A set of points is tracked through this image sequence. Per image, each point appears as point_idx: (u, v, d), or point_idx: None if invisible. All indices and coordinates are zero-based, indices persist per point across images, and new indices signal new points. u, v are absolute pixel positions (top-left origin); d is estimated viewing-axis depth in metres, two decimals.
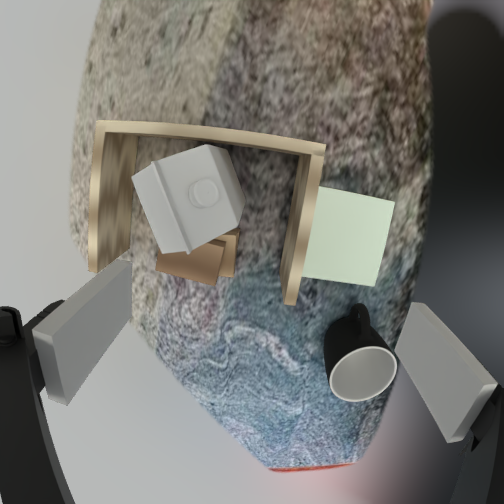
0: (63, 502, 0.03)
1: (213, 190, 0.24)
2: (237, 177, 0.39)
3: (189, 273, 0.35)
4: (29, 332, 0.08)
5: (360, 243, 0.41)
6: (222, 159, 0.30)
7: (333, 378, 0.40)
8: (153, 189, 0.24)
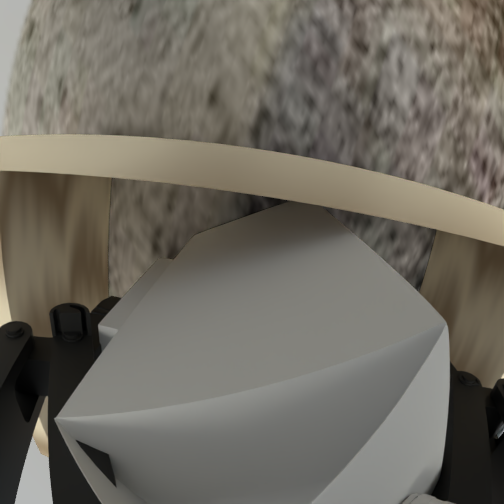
0: None
1: None
2: None
3: None
4: None
5: None
6: None
7: None
8: None
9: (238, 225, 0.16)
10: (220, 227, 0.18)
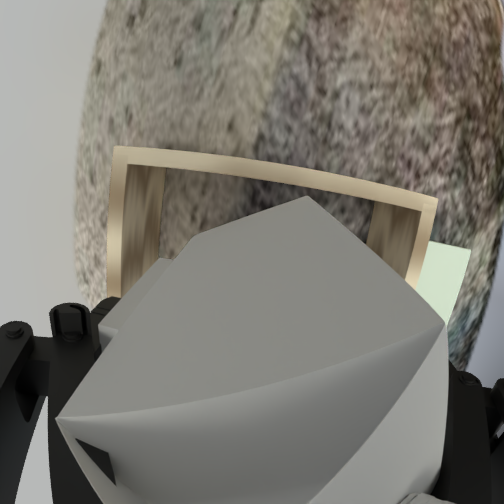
0: None
1: None
2: None
3: None
4: None
5: (433, 297, 0.33)
6: None
7: None
8: None
9: (238, 225, 0.16)
10: (220, 227, 0.18)
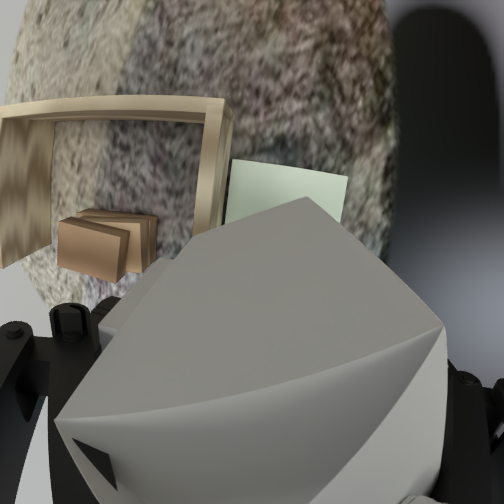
0: None
1: None
2: None
3: (88, 268, 0.28)
4: None
5: None
6: None
7: None
8: None
9: (237, 226, 0.16)
10: (219, 228, 0.18)
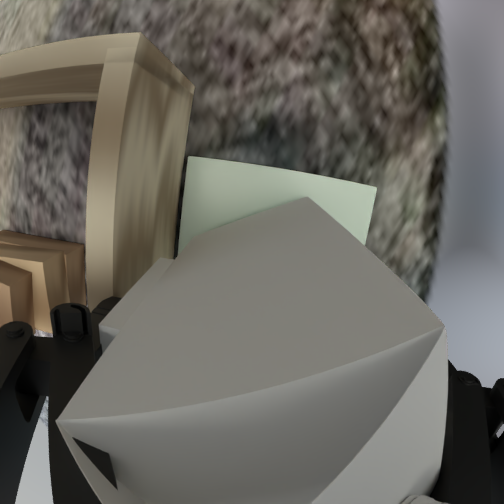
0: None
1: None
2: None
3: None
4: None
5: None
6: None
7: None
8: None
9: (238, 226, 0.16)
10: (220, 228, 0.18)
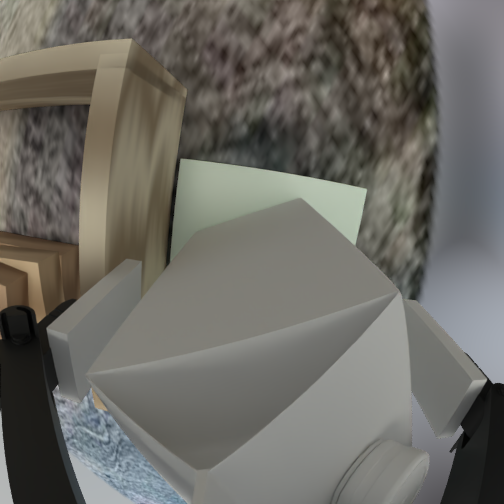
0: (75, 501, 0.03)
1: (418, 481, 0.05)
2: None
3: None
4: (42, 331, 0.08)
5: None
6: None
7: None
8: (183, 484, 0.05)
9: (237, 223, 0.18)
10: (220, 225, 0.19)
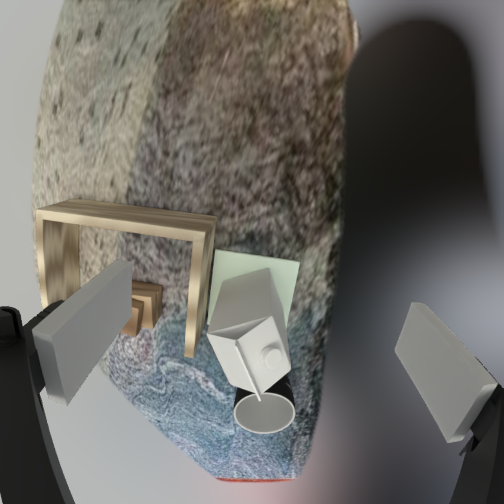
0: (63, 502, 0.03)
1: (278, 356, 0.31)
2: None
3: None
4: (29, 332, 0.08)
5: None
6: (274, 302, 0.37)
7: (244, 412, 0.46)
8: (230, 352, 0.31)
9: (240, 281, 0.44)
10: (233, 279, 0.45)
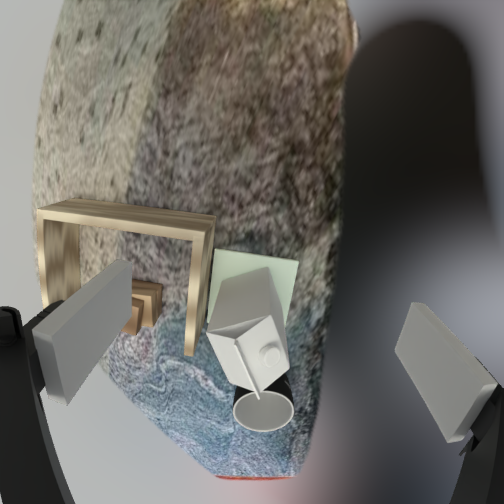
0: (63, 502, 0.03)
1: (277, 355, 0.31)
2: (276, 290, 0.47)
3: None
4: (29, 332, 0.08)
5: None
6: (273, 301, 0.38)
7: (243, 410, 0.47)
8: (229, 351, 0.31)
9: (240, 280, 0.44)
10: (233, 279, 0.46)
